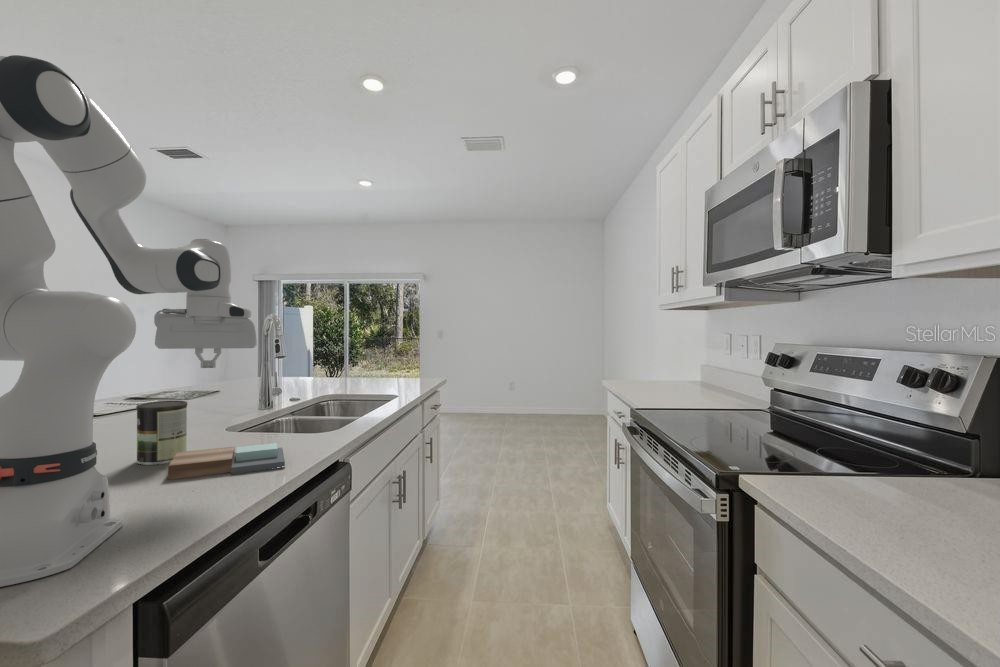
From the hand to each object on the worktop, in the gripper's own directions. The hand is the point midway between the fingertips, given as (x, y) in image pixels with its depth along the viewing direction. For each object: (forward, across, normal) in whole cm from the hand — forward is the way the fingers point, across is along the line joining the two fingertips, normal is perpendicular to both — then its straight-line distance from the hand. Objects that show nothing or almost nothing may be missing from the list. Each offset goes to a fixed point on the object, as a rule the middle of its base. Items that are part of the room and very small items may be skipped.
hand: (208, 367), depth 106 cm
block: (+22, +10, 0) cm, 25 cm away
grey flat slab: (+24, +11, -1) cm, 26 cm away
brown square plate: (+24, -1, 0) cm, 24 cm away
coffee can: (+24, -11, +13) cm, 29 cm away
